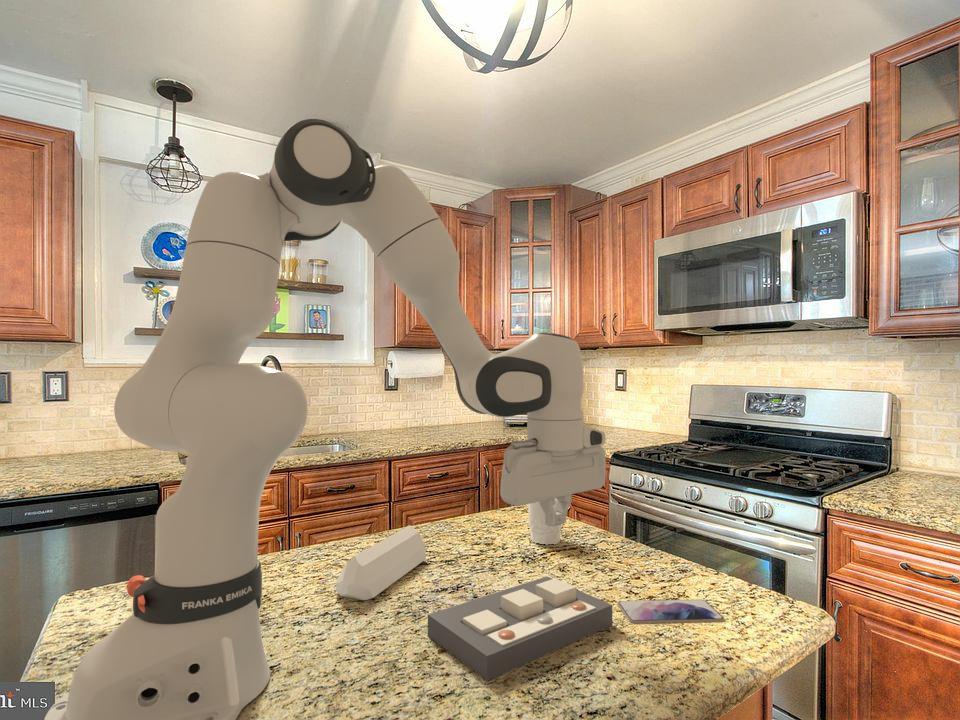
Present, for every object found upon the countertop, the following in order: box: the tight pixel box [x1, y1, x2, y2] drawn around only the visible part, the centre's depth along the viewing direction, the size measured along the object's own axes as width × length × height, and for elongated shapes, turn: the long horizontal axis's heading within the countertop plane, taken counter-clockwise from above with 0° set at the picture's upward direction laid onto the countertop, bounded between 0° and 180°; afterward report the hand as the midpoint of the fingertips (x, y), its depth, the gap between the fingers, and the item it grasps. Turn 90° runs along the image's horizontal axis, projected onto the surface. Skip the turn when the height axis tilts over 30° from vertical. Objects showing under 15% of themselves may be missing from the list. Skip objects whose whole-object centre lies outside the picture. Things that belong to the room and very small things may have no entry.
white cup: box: [527, 498, 563, 545], centre depth 120 cm, size 8×8×10 cm
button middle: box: [501, 589, 543, 621], centre depth 78 cm, size 4×4×3 cm
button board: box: [427, 576, 613, 681], centre depth 78 cm, size 24×14×3 cm, turn 127°
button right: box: [536, 578, 577, 607], centre depth 82 cm, size 4×4×3 cm
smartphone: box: [617, 598, 725, 625], centre depth 84 cm, size 7×1×15 cm
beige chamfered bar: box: [335, 524, 427, 601], centre depth 98 cm, size 7×7×24 cm
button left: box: [463, 610, 507, 635], centre depth 74 cm, size 4×4×3 cm
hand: (555, 524), depth 83 cm, fingers closed
